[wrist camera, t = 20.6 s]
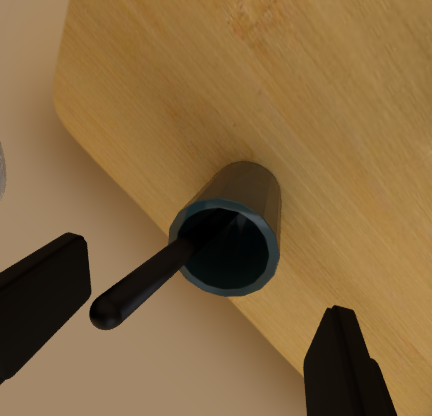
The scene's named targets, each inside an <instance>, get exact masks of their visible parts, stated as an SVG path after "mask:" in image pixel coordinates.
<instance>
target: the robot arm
mask: <svg viewBox="0 0 432 416" xmlns="http://www.w3.org/2000/svg"><path fill="white" fill-rule="evenodd" d="M90 295H91V281H90V270H89V260H88V249H87V242H86V241H85V240H84V237H83V236H81V235H77V234H73V233H69V232H68V233H65V234H63V235H61V236H60V237H58V238H57V239H55V240H53V241H52V242H50V243H48V244H47V245H45V246H43V247H42V248H40V249H38V250H37V251H35V252H34V253H32V254H30V255H29V256H27V257H25V258H24V259H22V260H20V261H19V262H17V263H16V264H14V265H12V266H11V267H9V268H7V269H6V270H4V271H3V272H1V273H0V384H2V383H3V382H4V381H5V380H6V379H10V378H11V377H13V376H14V375H15V374H16V372H18V371H19V370H20V369H21V368H22V367H23V366H24V365H25V364H26V363H27V362H28V361H29V360H30V359H31V358H32V357H33V355H34V354H35V353H36V352H37V351H38V350H39V349H40V348H41V347H42V346H43V345H44V344H45V343H46V342H47V341H48V340H49V339H50V338H51V337H52V336H53V335H54V334H55V333H56V332H57V331H58V330H59V329H60V328H61V327H62V326H63V325H64V324H65V323H66V322H67V321H68V320H69V318H71V317H72V316H73V315H74V314H75V313H76V311H77V310H79V308H80V307H81V306H82V305H83V304H84V303H85V302H86V301H87V300H88V299H89V297H90ZM303 370H304V383H305V394H306V408H307V416H397V413H396V411H395V408H394V405H393V402H392V400H391V397H390V394H389V392H388V389H387V386H386V383H385V381H384V378H383V375H382V372H381V370H380V367H379V365H378V363H377V362H376V361H375V360H374V359H372V358H370V356H369V353H368V350H367V347H366V344H365V341H364V338H363V335H362V332H361V329H360V326H359V324H358V321H357V318H356V315H355V312H354V311H353V310H352V309H348V308H344V307H341V306H337V305H334V306H333V307H332V309H331V308H327V309H326V311H325V313H324V315H323V318H322V320H321V322H320V325H319V327H318V329H317V331H316V334H315V336H314V338H313V340H312V343H311V345H310V347H309V350H308V352H307V354H306V356H305V359H304V366H303Z"/></svg>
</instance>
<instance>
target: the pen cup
mask: <svg viewBox="0 0 432 416" xmlns="http://www.w3.org/2000/svg"><path fill="white" fill-rule="evenodd" d="M218 208H223V209H227V210H231V211H236V212H239V213H240V214H239V215H238V216H236V217H235V218H234V219H233V220H232V221H231V222H230V223H229V224H228V225H227V226H226V227H225V228H224V229H222V230H221V231H220V232H219V233H218V234H217V235H216V236H215V237H214V238H213V239H212V240H211V241H209V242H208V243H207V244H206V245H205V246H204V247H203V248H202V249H201V250H200V251H199V252H198V253H197V254H195V255H194V256H193V257H192V258H191V259H190V260H189V261H188V262H187V263H186V264H185V265H184V266H182V267H181V268H180V269H179V271H180V272H181V273H182V274H183V276H184V277H185V278H186V279H187V280H188V281H189V282H191V283H193V284H194V285H195V286H197V287H198V288H200V289H202V290H204V291H206V292H209V293H212V294H216V295H219V296H224V297H231V296H245V295H247V294H250V293H252V292H255V291H257V290H260V289H261V288H263V287H264V285H265V284H266V283H267V282H268V281H269V280H270V279H271V278H272V277H273V276H274V275H275V272H276V269H277V265H278V262H279V259H280V238H281V209H282V199H281V190H280V186H279V184H278V182H277V180H276V178H275V177H274V176H273V174H272V173H271V172H270V171H269V170H267V169H266V168H264V167H263V166H261V165H259V164H256V163H253V162H246V161H241V162H235V163H231V164H229V165H227V166H225V167H223V168H222V169H221V170H220V171H219V172H217V173H216V174H215V175H214V176H213V177H212V178H211V179H210V180H209V181H208V182H207V183H206V184H205V185H204V186H203V188H202V189H201V190H200V191H199V192H198V193H197V194H196V195H195V196H194V197H193V198H192V199H191V200H190V201H189V202H188V203H187V204H186V205H185V206H184V207H183V208H182V209H181V210H180V212H179V213H178V214H177V216H176V218H175V219H174V221H173V223H172V224H171V226H170V229H169V243H168V245H169V244H170V243H172V242H173V241H174V240H176V239H177V238H179V237H180V236H181V235H183V234H184V233H185V232H187V231H188V230H189V229H191V228H192V227H193V226H195V225H196V224H197V223H199V222H200V221H202V220H203V219H204V218H206V217H207V216H208V215H210V214H211V213H212V212H214V211H215V210H216V209H218Z"/></svg>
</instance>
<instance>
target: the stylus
mask: <svg viewBox="0 0 432 416" xmlns="http://www.w3.org/2000/svg"><path fill="white" fill-rule="evenodd" d="M239 214H240V213H239V212H236V211H231V210H227V209H223V208H218V209H216V210H215V211H214V212H212V213H211V214H210V215H208V216H207V217H206V218H204V219H203V220H202V221H200V222H199V223H197V224H196V225H195V226H193V227H192V228H191V229H189V230H188V231H187V232H185V233H184V234H183V235H181V236H180V237H179V238H177V239H176V240H174V241H173V242H172V243H170V244H169V245H168V246H167V247H165V248H164V249H162V250H161V251H160V252H158V253H157V254H156V255H154V256H153V257H151V258H150V259H149V260H147V261H146V262H145V263H143V264H142V265H141V266H139V267H138V268H136V269H135V270H134V271H132V272H131V273H130V274H128V275H127V276H126V277H124V278H123V279H122V280H120V281H119V282H118V283H116V284H115V285H113V286H112V287H111V288H109V289H108V290H107V291H105V292H104V293H103V294H101V295H100V296H99V297H97V298H96V299H95V300H94V302H93V303H92V305H91V308H90V312H89V316H90V320H91V322H92V324H93V325H94V326H95V327H97V328H98V329H101V330H110V329H113V328H115V327H117V326H118V325H120V324H121V323H122V322H123V321H124V320H125V319H126V318H127V317H128V316H130V315H131V314H132V313H133V312H134V311H135V310H136V309H137V308H138V307H139V306H140V305H141V304H142V303H143V302H145V301H146V300H147V299H148V298H149V297H150V296H151V295H152V294H153V293H154V292H155V291H156V290H158V289H159V288H160V287H161V286H162V285H163V284H164V283H165V282H166V281H167V280H168V279H169V278H171V277H172V276H173V275H174V274H175V273H176V272H177V271H178V270H179V269H180V268H181V267H182V266H184V265H185V264H186V263H187V262H188V261H189V260H190V259H191V258H192V257H193V256H194V255H195V254H197V253H198V252H199V251H200V250H201V249H202V248H203V247H204V246H205V245H206V244H207V243H208V242H209V241H211V240H212V239H213V238H214V237H215V236H216V235H217V234H218V233H219V232H220V231H221V230H222V229H224V228H225V227H226V226H227V225H228V224H229V223H230V222H231V221H232V220H233V219H234V218H235V217H236V216H238V215H239Z"/></svg>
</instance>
